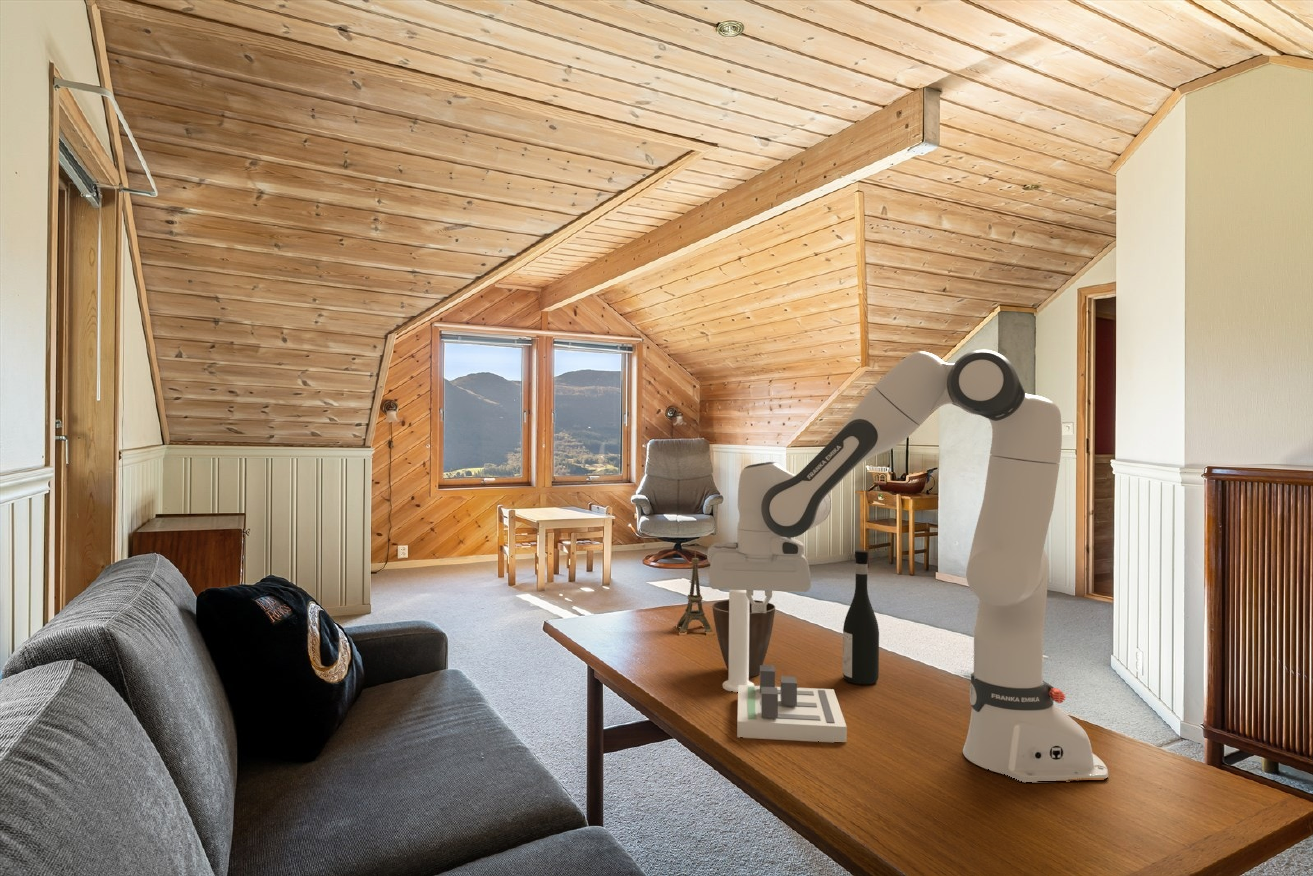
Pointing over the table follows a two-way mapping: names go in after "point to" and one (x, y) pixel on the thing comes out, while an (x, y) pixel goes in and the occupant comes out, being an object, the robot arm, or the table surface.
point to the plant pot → (757, 633)
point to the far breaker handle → (767, 676)
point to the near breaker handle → (769, 702)
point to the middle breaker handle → (788, 691)
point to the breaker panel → (792, 716)
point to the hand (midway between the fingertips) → (758, 612)
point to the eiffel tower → (690, 613)
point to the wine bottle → (861, 631)
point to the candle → (738, 641)
